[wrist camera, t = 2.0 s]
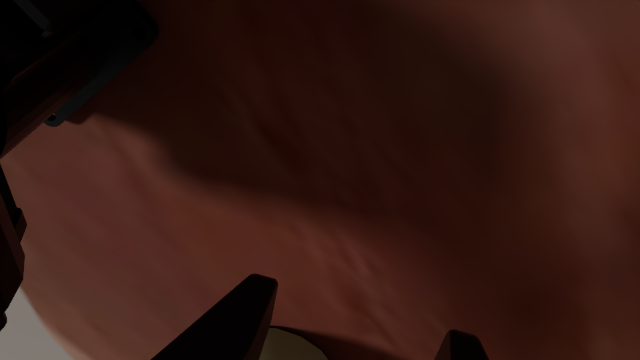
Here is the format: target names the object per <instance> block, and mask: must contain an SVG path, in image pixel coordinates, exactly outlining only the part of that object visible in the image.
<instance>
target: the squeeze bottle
mask: <svg viewBox="0 0 640 360" xmlns="http://www.w3.org/2000/svg"><path fill="white" fill-rule="evenodd" d="M259 360H328V359H327V358H326V356H325V355H324V354H323V352H322V351H321V350H320V349H318V348H317V347H315V346H314V345H312V344H311V343H310V342H308V341H307V340H305V339H304V338H302V337H300V336H297V335H295V334H292V333H289V332H286V331H283V330H280V329H277V328H269V330H268V333H267V336H266V339H265V342H264V346H263V349H262V352H261V355H260V358H259Z"/></svg>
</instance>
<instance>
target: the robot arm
mask: <svg viewBox="0 0 640 360" xmlns="http://www.w3.org/2000/svg"><path fill="white" fill-rule="evenodd" d="M137 26H141V27H142V28H144V29H145V31H146V34H147V36H143V35H142V34H140V33H139V31H138V28H137ZM158 33H159V30H158V26H157V24H156V23H155V21H154V20H153V19H152V18H151V17H150V16H149V14H148V13H147V12H146V11H145V10H144V9H143V8H142V7H141V6H140V5H139V3H138V2H137V1H136V0H0V159H1V158H2V157H4V156H5V155H6V154H7V153H8V152H9V151H11V150H12V149H13V148H14V147H15V146H16V145H18V144H19V143H20V142H21V141H22V140H23V139H25V138H26V137H27V136H28V135H29V134H30V133H31V132H33V131H34V130H35V129H36V128H37V127H38V126H40V125H41V124H42V123H43V122H44V123H45V124H46V125H49V126H51V127H57V126H59V125H60V124H61V123H63V122H64V121H65V120H66V119H67V118H68V117H69V116H71V115H72V114H73V113H74V112H75V111H76V110H77V109H78V108H80V107H81V106H82V105H83V104H84V103H85V102H86V101H88V100H89V99H90V98H91V97H92V96H93V95H94V94H95V93H97V92H98V91H99V90H100V89H101V88H102V87H103V86H105V85H106V84H107V83H108V82H109V81H110V80H111V79H112V78H114V77H115V76H116V75H117V74H118V73H119V72H120V71H122V70H123V69H124V68H125V67H126V66H127V65H128V64H129V63H131V62H132V61H133V60H134V59H135V58H136V57H137V56H139V55H140V54H141V53H142V52H143V51H144V50H145V49H146V48H148V47H149V46H150V45H151V44H152V43H153V42H154V41H155V40H156V39H157V37H158ZM54 113H55V115H56V116H55V115H53V114H54ZM26 227H27V223H26V220H25V217H24V215H23V212H22V210H21V209H20V208H17V207H16V204H15V201H14V199H13V196H12V194H11V191H10V188H9V186H8V183H7V180H6V178H5V175H4V172H3V170H2V167H1V165H0V331H1V330H2V329H3V328H4V326H5V325H6V323H7V317H6V314H5V311H6V309H7V308H8V307H9V305H10V303H11V301H12V299H13V297H14V295H15V293H16V292H17V290H18V288H19V286H20V284H21V282H22V280H23V273H24V260H25V254H24V252H23V249H22V247H21V244H20V242H21V240H22V237H23V234H24V232H25V229H26ZM277 288H278V282H277V281H276V279H273V278H270V277H266V276H263V275H259V274H251V275H249V276H248V277H247V278H246V279H244V280H243V281H242V282H241V283H240V284H239V285H237V286H236V287H235V288H234V289H233V290H232V291H230V292H229V293H228V294H227V295H226V296H225V297H223V298H222V299H221V300H220V301H219V302H218V303H216V304H215V305H214V306H213V307H212V308H211V309H209V310H208V311H207V312H206V313H205V314H203V315H202V316H201V317H200V318H199V319H198V320H196V321H195V322H194V323H193V324H192V325H191V326H189V327H188V328H187V329H186V330H185V331H184V332H182V333H181V334H180V335H179V336H178V337H177V338H175V339H174V340H173V341H172V342H171V343H170V344H168V345H167V346H166V347H165V348H164V349H163V350H161V351H160V352H159V353H158V354H157V355H156V356H154V357H153V358H152V359H151V360H259V358H260V355H261V352H262V349H263V346H264V342H265V339H266V336H267V333H268V330H269V326H270V323H271V319H272V314H273V309H274V304H275V299H276V294H277ZM434 360H489V358H488V356H487V354H486V352H485V350H484V348H483V346H482V344H481V342H480V340H479V339H478V338H477V337H476V336H475V335H472V334H469V333H465V332H462V331H458V330H449V331H448V333H447V334H446V336H445V338H444V340H443V342H442V344H441V346H440V349H439V351H438V353H437V355H436V357H435V359H434Z"/></svg>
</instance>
